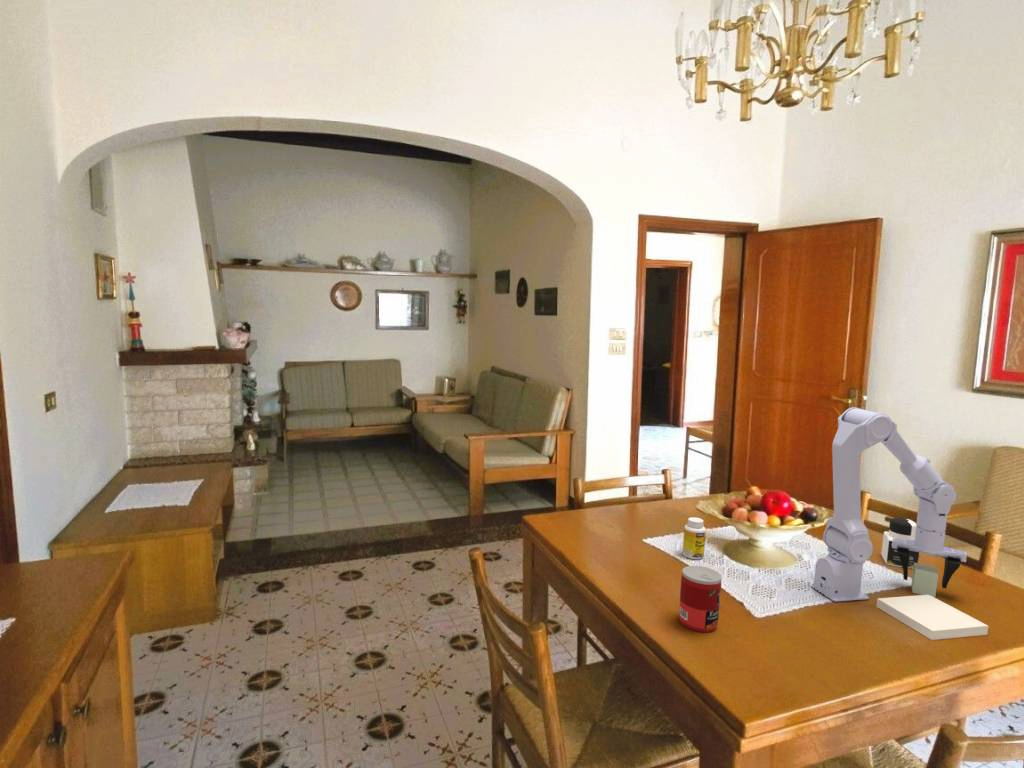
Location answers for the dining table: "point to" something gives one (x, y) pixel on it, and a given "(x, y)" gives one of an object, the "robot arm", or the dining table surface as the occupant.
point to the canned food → (700, 598)
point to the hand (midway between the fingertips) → (924, 582)
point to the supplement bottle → (694, 538)
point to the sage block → (924, 580)
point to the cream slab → (932, 617)
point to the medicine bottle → (899, 530)
